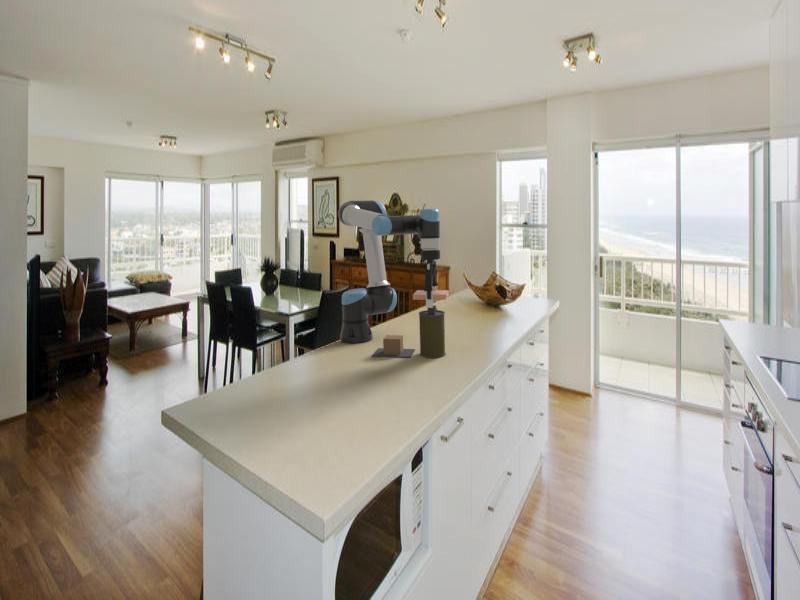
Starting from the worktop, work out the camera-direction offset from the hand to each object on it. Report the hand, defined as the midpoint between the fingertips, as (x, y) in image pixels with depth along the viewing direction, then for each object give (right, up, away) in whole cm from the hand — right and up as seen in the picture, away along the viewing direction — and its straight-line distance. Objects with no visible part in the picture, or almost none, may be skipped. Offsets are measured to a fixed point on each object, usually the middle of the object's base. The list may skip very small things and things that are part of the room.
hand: (431, 304), depth 172 cm
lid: (0, +3, 0) cm, 3 cm away
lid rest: (-15, -20, +6) cm, 26 cm away
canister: (+1, -20, +4) cm, 21 cm away
